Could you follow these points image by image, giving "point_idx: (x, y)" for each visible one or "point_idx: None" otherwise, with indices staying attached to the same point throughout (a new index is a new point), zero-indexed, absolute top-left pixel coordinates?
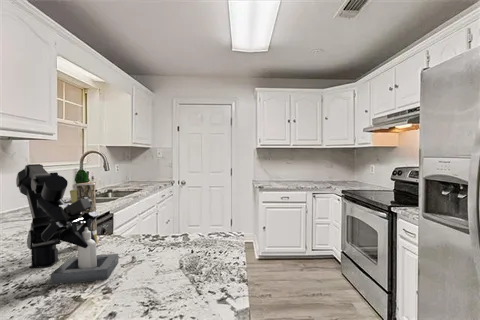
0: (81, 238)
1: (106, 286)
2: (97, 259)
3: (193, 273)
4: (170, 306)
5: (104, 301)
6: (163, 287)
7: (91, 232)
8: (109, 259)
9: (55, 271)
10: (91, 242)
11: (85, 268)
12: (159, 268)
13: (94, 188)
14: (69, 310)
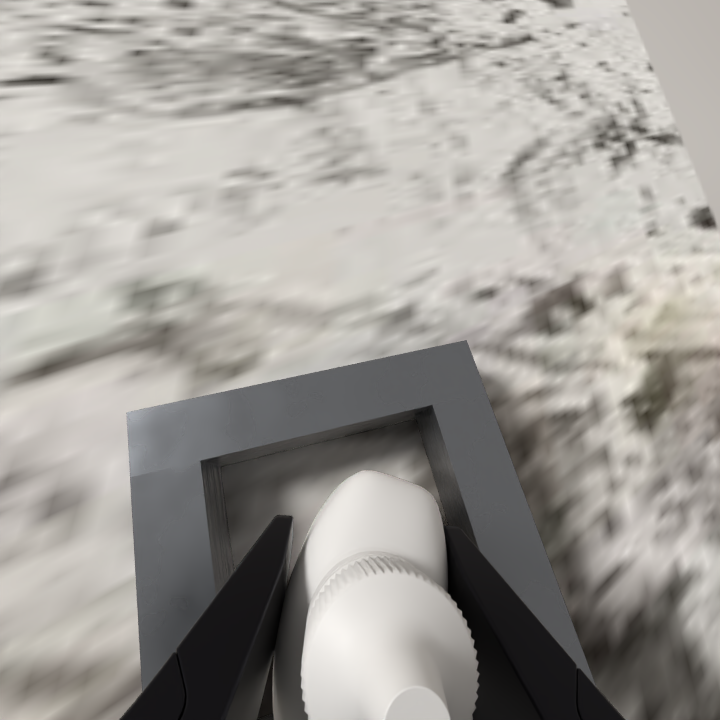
0: (530, 633)
1: (522, 330)
2: (216, 548)
3: (365, 60)
4: (618, 92)
5: (645, 276)
6: (499, 128)
7: (204, 652)
8: (281, 412)
9: None
10: (417, 498)
11: (471, 494)
12: (297, 176)
13: None
14: None
